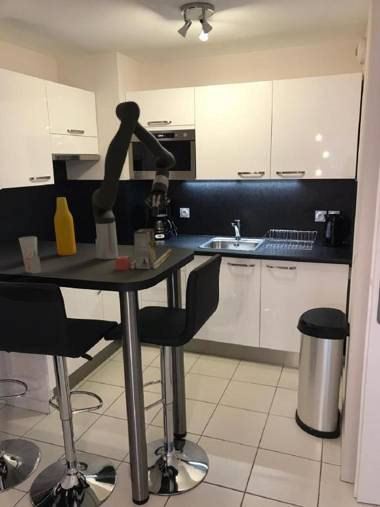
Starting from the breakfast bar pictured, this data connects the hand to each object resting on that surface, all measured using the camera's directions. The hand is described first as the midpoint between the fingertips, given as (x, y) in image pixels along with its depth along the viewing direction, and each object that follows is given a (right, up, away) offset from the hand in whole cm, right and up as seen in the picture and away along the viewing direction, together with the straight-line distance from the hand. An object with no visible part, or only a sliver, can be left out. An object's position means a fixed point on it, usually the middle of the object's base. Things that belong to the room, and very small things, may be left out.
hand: (154, 214), depth 194 cm
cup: (-60, -23, +4) cm, 64 cm away
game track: (-1, -21, -2) cm, 22 cm away
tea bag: (-52, -27, -14) cm, 60 cm away
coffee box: (-2, -24, -12) cm, 27 cm away
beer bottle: (-47, -19, +20) cm, 55 cm away
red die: (-12, -25, -15) cm, 31 cm away
